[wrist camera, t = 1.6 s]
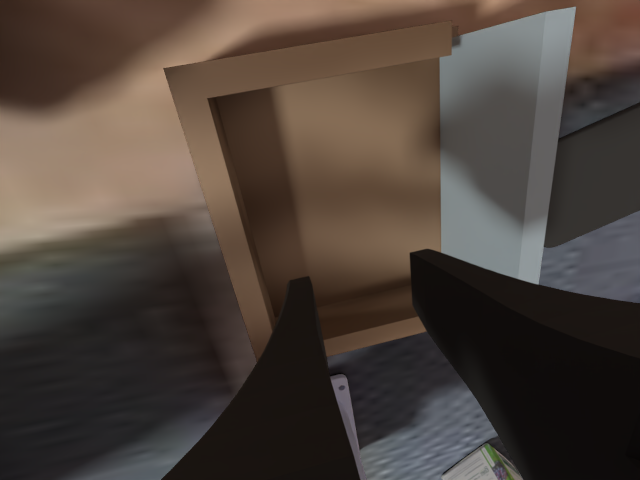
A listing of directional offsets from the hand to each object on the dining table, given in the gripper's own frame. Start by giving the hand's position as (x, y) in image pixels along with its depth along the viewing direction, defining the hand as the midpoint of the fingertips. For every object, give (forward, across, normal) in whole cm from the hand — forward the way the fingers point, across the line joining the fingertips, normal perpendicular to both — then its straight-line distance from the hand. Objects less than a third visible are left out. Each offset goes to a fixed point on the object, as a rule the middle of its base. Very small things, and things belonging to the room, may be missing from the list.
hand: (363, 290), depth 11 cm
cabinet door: (+8, -8, 0) cm, 12 cm away
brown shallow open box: (+9, -2, 0) cm, 10 cm away
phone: (+10, -21, +2) cm, 23 cm away
